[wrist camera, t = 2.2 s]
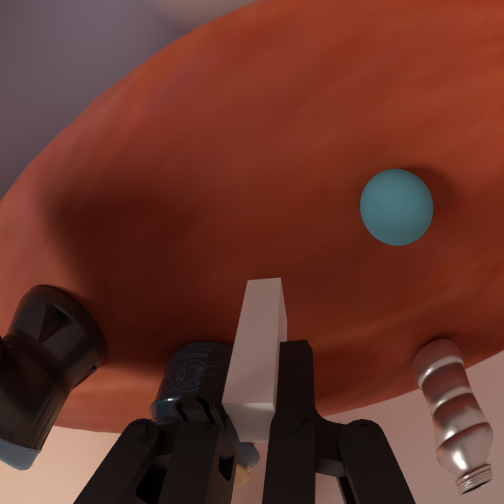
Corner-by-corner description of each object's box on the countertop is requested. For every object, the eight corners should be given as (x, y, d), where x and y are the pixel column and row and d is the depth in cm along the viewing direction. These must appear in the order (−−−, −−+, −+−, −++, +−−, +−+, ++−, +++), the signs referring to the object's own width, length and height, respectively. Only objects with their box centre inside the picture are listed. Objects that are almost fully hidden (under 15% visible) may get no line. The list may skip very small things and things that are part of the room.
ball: (354, 230, 26) (370, 264, 21) (350, 164, 23) (369, 183, 18) (414, 223, 25) (441, 255, 20) (415, 160, 22) (448, 178, 17)
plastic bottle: (457, 349, 32) (506, 474, 15) (416, 374, 35) (449, 503, 17) (447, 323, 30) (508, 465, 13) (401, 351, 33) (440, 499, 15)
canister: (255, 333, 33) (234, 485, 17) (275, 398, 39) (266, 515, 23) (153, 340, 35) (100, 463, 20) (189, 400, 41) (161, 504, 26)
